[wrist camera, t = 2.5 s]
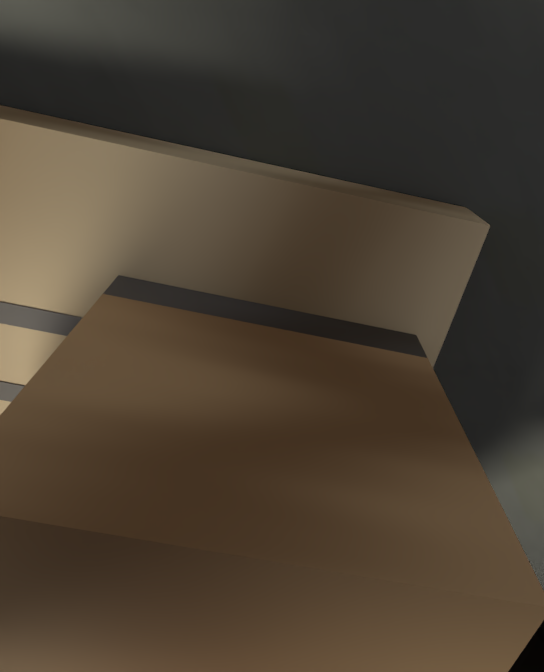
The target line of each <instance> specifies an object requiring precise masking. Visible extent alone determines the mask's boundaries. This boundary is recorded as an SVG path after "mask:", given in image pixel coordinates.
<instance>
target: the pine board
mask: <svg viewBox="0 0 544 672" xmlns="http://www.w3.org/2000/svg"><path fill="white" fill-rule="evenodd" d="M490 226H491V225H489V224H488V223H487V222H485V221H484V220H482V219H481V218H480V217H478V216H477V215H476V214H474V213H473V212H472V211H470V210H469V209H468V208H466V207H462V206H457V205H452V204H448V203H443V202H439V201H434V200H430V199H425V198H421V197H416V196H412V195H407V194H402V193H398V192H393V191H389V190H384V189H380V188H375V187H371V186H366V185H361V184H357V183H352V182H348V181H343V180H339V179H334V178H330V177H325V176H321V175H316V174H311V173H307V172H302V171H298V170H293V169H289V168H284V167H280V166H275V165H271V164H266V163H261V162H257V161H252V160H248V159H243V158H239V157H234V156H230V155H225V154H221V153H216V152H211V151H207V150H202V149H198V148H193V147H189V146H184V145H180V144H175V143H170V142H166V141H161V140H157V139H152V138H148V137H143V136H139V135H134V134H130V133H125V132H120V131H116V130H111V129H107V128H102V127H98V126H93V125H89V124H84V123H80V122H75V121H70V120H66V119H61V118H57V117H52V116H48V115H43V114H39V113H34V112H29V111H25V110H20V109H16V108H11V107H7V106H2V105H0V415H1V414H2V413H3V411H4V410H5V409H6V408H7V407H8V405H9V404H10V403H11V402H12V401H13V400H14V398H15V397H16V396H17V395H18V394H19V392H20V391H21V390H22V389H23V388H24V386H25V385H26V384H27V383H28V382H29V381H30V379H31V378H32V377H33V376H34V375H35V373H36V372H37V371H38V370H39V369H40V368H41V366H42V365H43V364H44V363H45V362H46V360H47V359H48V358H49V357H50V356H51V355H52V353H53V352H54V351H55V350H56V349H57V347H58V346H59V345H60V344H61V343H62V341H63V340H64V339H65V338H66V337H67V336H68V334H69V333H70V332H71V331H72V330H73V328H74V327H75V326H76V325H77V324H78V323H79V321H80V320H81V319H82V318H83V317H84V315H85V314H86V313H87V312H88V311H89V309H90V308H91V307H92V306H93V305H94V304H95V302H96V301H97V300H98V299H99V298H100V296H101V295H102V294H103V293H104V292H105V291H106V289H107V288H108V287H109V286H110V285H111V283H112V282H113V281H114V280H115V279H116V277H117V276H118V275H120V276H125V277H130V278H135V279H140V280H145V281H150V282H155V283H160V284H165V285H170V286H175V287H180V288H185V289H190V290H195V291H200V292H205V293H210V294H215V295H220V296H225V297H230V298H235V299H240V300H245V301H250V302H255V303H260V304H265V305H270V306H275V307H280V308H285V309H290V310H295V311H300V312H305V313H310V314H314V315H319V316H324V317H329V318H334V319H339V320H344V321H349V322H354V323H359V324H364V325H369V326H374V327H379V328H384V329H389V330H394V331H399V332H404V333H409V334H414V335H417V337H418V339H419V341H420V344H421V346H422V348H423V350H424V352H425V354H426V356H427V358H428V360H429V362H430V364H431V366H432V368H433V367H434V365H435V362H436V360H437V357H438V355H439V352H440V350H441V347H442V345H443V342H444V340H445V337H446V335H447V332H448V330H449V328H450V325H451V323H452V320H453V318H454V315H455V313H456V310H457V308H458V305H459V303H460V300H461V298H462V295H463V293H464V290H465V288H466V285H467V283H468V280H469V278H470V275H471V273H472V270H473V268H474V265H475V263H476V260H477V258H478V256H479V253H480V251H481V248H482V246H483V243H484V241H485V238H486V236H487V233H488V231H489V228H490Z"/></svg>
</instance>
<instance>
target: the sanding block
mask: <svg viewBox="0 0 544 672" xmlns="http://www.w3.org/2000/svg"><path fill="white" fill-rule="evenodd" d="M543 620H544V591H543V589H542V587H541V585H540V583H539V581H538V579H537V577H536V575H535V573H534V571H533V569H532V567H531V565H530V563H529V561H528V559H527V557H526V555H525V553H524V550H523V548H522V546H521V544H520V542H519V540H518V538H517V536H516V534H515V532H514V530H513V528H512V526H511V524H510V522H509V520H508V518H507V516H506V514H505V512H504V510H503V508H502V506H501V504H500V502H499V500H498V498H497V496H496V494H495V492H494V490H493V488H492V486H491V484H490V482H489V480H488V478H487V476H486V474H485V472H484V470H483V468H482V466H481V464H480V462H479V460H478V458H477V456H476V454H475V452H474V450H473V448H472V446H471V444H470V442H469V440H468V438H467V436H466V434H465V432H464V430H463V428H462V426H461V424H460V422H459V420H458V418H457V416H456V414H455V412H454V410H453V408H452V406H451V404H450V402H449V400H448V398H447V396H446V394H445V392H444V390H443V388H442V386H441V384H440V382H439V380H438V378H437V376H436V374H435V372H434V370H433V368H432V366H431V364H430V362H429V360H428V358H427V356H426V354H425V352H424V350H423V348H422V346H421V344H420V341H419V339H418V337H417V335H414V334H409V333H404V332H399V331H394V330H389V329H384V328H379V327H374V326H369V325H364V324H359V323H354V322H349V321H344V320H339V319H334V318H329V317H324V316H319V315H314V314H310V313H305V312H300V311H295V310H290V309H285V308H280V307H275V306H270V305H265V304H260V303H255V302H250V301H245V300H240V299H235V298H230V297H225V296H220V295H215V294H210V293H205V292H200V291H195V290H190V289H185V288H180V287H175V286H170V285H165V284H160V283H155V282H150V281H145V280H140V279H135V278H130V277H125V276H120V275H118V276H117V277H116V279H115V280H114V281H113V282H112V283H111V285H110V286H109V287H108V288H107V289H106V291H105V292H104V293H103V294H102V295H101V296H100V298H99V299H98V300H97V301H96V302H95V304H94V305H93V306H92V307H91V308H90V309H89V311H88V312H87V313H86V314H85V315H84V317H83V318H82V319H81V320H80V321H79V323H78V324H77V325H76V326H75V327H74V328H73V330H72V331H71V332H70V333H69V334H68V336H67V337H66V338H65V339H64V340H63V341H62V343H61V344H60V345H59V346H58V347H57V349H56V350H55V351H54V352H53V353H52V355H51V356H50V357H49V358H48V359H47V360H46V362H45V363H44V364H43V365H42V366H41V368H40V369H39V370H38V371H37V372H36V373H35V375H34V376H33V377H32V378H31V379H30V381H29V382H28V383H27V384H26V385H25V386H24V388H23V389H22V390H21V391H20V392H19V394H18V395H17V396H16V397H15V398H14V400H13V401H12V402H11V403H10V404H9V405H8V407H7V408H6V409H5V410H4V411H3V413H2V414H1V415H0V672H508V671H509V670H510V668H511V667H512V665H513V664H514V662H515V661H516V660H517V658H518V657H519V655H520V654H521V652H522V651H523V649H524V648H525V647H526V645H527V644H528V642H529V641H530V639H531V638H532V636H533V635H534V634H535V632H536V631H537V629H538V628H539V626H540V625H541V623H542V622H543Z"/></svg>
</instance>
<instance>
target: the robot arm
mask: <svg viewBox="0 0 544 672" xmlns="http://www.w3.org/2000/svg"><path fill="white" fill-rule="evenodd" d="M508 672H544V620H543V622H542V623H541V625H540V626H539V628H538V629H537V631H536V632H535V634H534V635H533V636H532V638H531V639H530V641H529V642H528V644H527V645H526V647H525V648H524V649H523V651H522V652H521V654H520V655H519V657H518V658H517V660H516V661H515V662H514V664H513V665H512V667H511V668H510V670H509V671H508Z"/></svg>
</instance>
